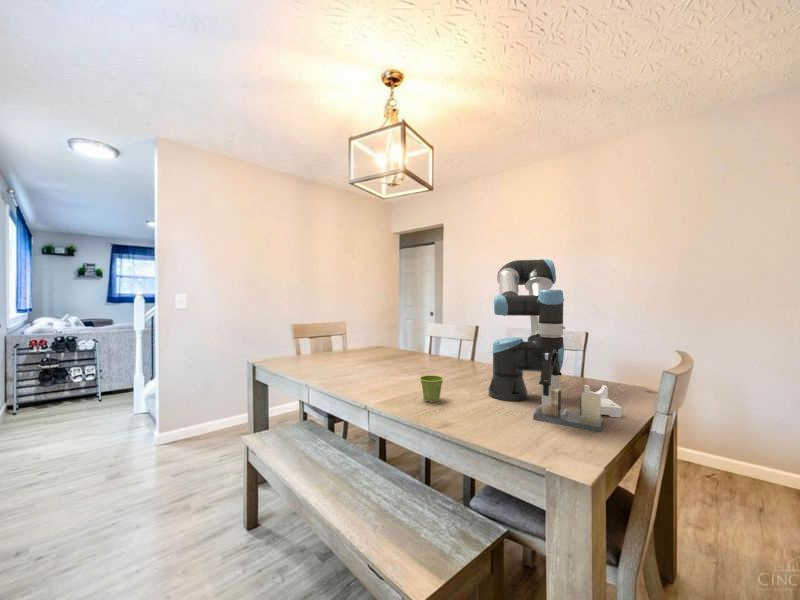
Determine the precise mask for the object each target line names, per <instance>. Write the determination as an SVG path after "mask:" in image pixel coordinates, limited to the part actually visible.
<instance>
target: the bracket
mask: <svg viewBox="0 0 800 600" xmlns="http://www.w3.org/2000/svg"><path fill="white" fill-rule="evenodd" d="M600 387H601V388H600V389H599V390H597V391H592V390H591V387H590V385H588V384H583V392H587V393H594V394H601V416H602V415H603V416H604V415H605V416H608V417H609V416H610V417H609V418H622V409H623V408H622V406H620V405H619V404H617V403H615V402H614V401H613V400H611V399H610V398H609V389H608V386H606V385H605V384H601V386H600Z"/></svg>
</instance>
